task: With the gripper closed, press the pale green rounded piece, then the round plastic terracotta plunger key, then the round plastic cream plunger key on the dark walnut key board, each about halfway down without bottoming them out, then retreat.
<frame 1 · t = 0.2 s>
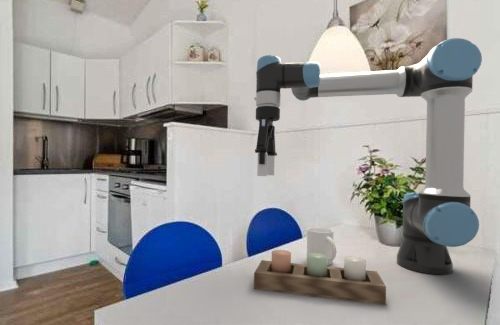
hand: (266, 175, 89), 27 cm above the table, fingers open, 13 cm apart
key board: (316, 287, 72), on the table
pale green rounded piece: (316, 264, 72), point 6 cm above the table, slide at 0.0 cm
mug: (322, 264, 91), on the table
terracotta key: (281, 261, 74), point 6 cm above the table, slide at 0.0 cm
cream key: (354, 268, 70), point 6 cm above the table, slide at 0.0 cm
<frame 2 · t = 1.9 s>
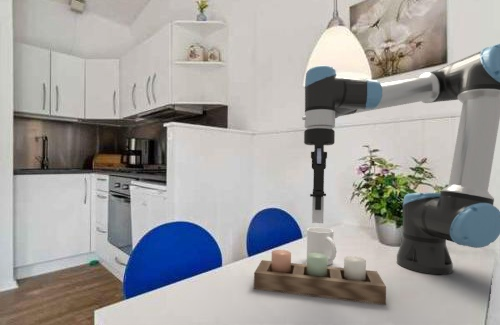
hand: (317, 222, 72), 16 cm above the table, fingers closed
nothing on the table moved.
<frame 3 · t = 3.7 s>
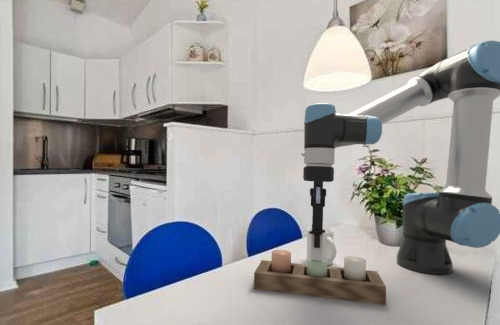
hand: (316, 259, 72), 7 cm above the table, fingers closed
pale green rounded piece: (316, 269, 72), point 5 cm above the table, slide at 1.2 cm, touching gripper
everything else where it was.
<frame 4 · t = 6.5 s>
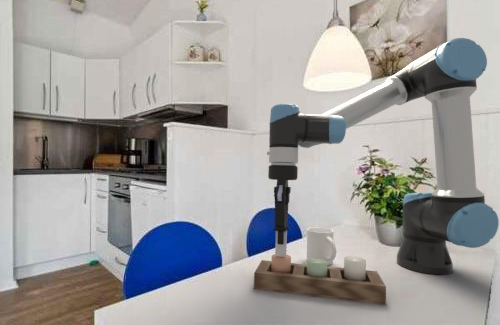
hand: (280, 255, 74), 7 cm above the table, fingers closed
pale green rounded piece: (316, 270, 72), point 4 cm above the table, slide at 1.4 cm
terracotta key: (281, 265, 74), point 5 cm above the table, slide at 1.0 cm, touching gripper
everything else where it was.
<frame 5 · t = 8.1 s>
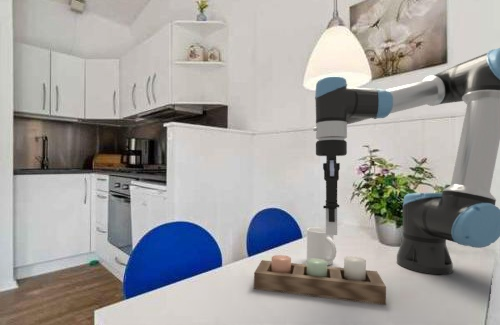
hand: (331, 234, 72), 14 cm above the table, fingers closed
terracotta key: (281, 266, 74), point 4 cm above the table, slide at 1.4 cm
everything else where it was.
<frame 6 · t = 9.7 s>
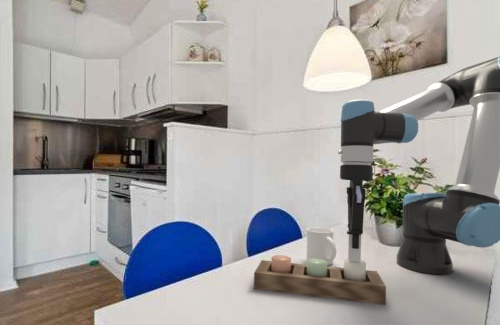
hand: (354, 260, 70), 8 cm above the table, fingers closed
cream key: (354, 270, 70), point 5 cm above the table, slide at 0.6 cm, touching gripper
everything else where it was.
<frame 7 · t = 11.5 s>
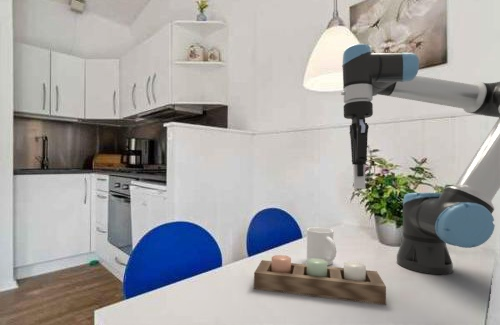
hand: (359, 188, 79), 25 cm above the table, fingers closed
cream key: (354, 274, 70), point 4 cm above the table, slide at 1.4 cm
everything else where it was.
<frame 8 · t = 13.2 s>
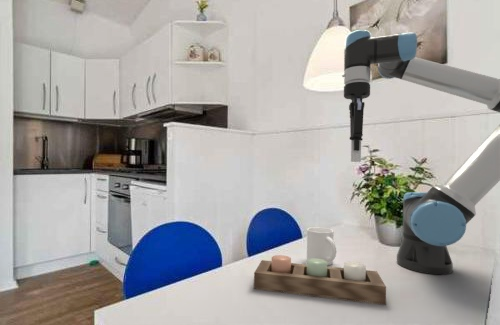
hand: (355, 161, 87), 32 cm above the table, fingers closed
nothing on the table moved.
at the end: pale green rounded piece slide at 1.4 cm; terracotta key slide at 1.4 cm; cream key slide at 1.4 cm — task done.
